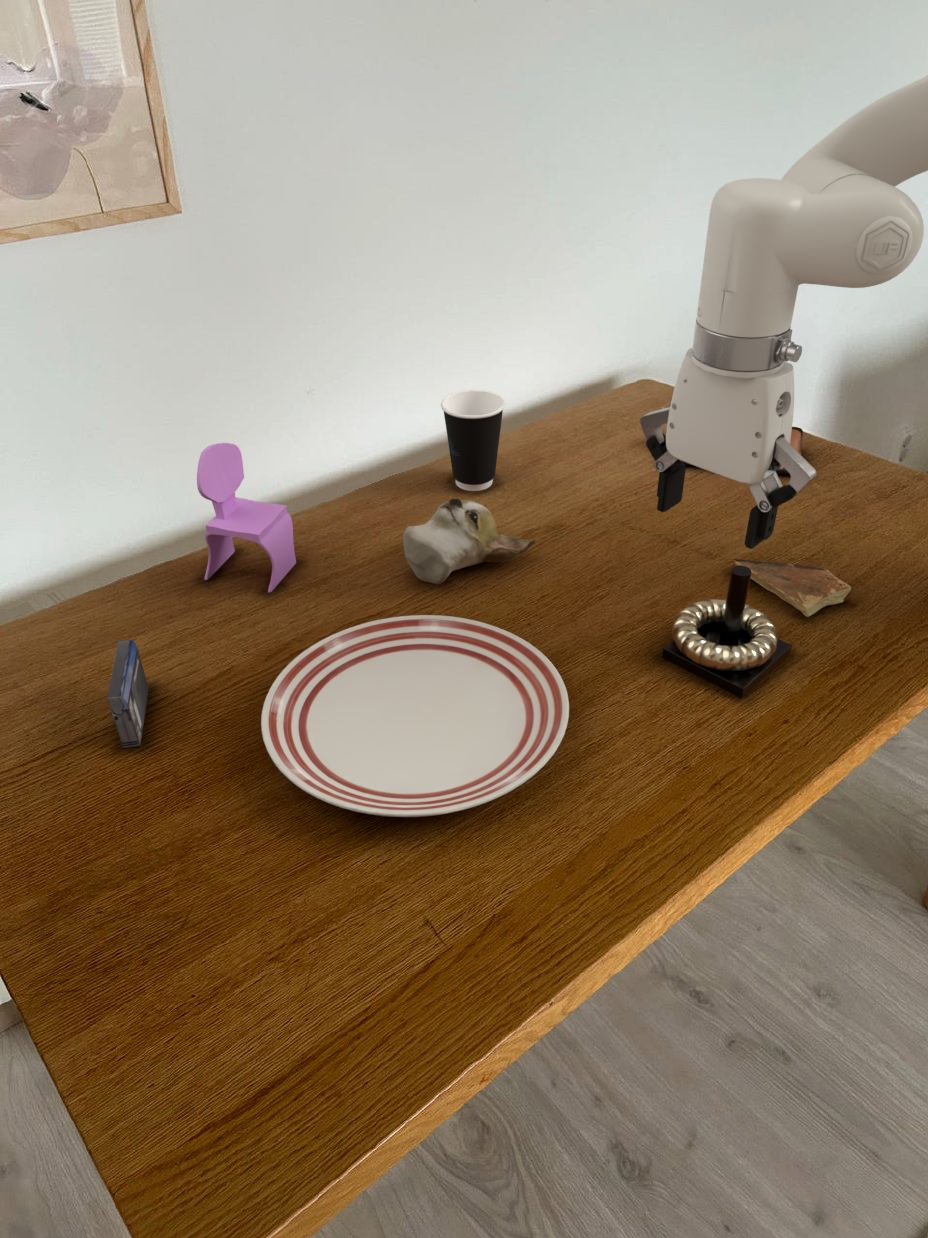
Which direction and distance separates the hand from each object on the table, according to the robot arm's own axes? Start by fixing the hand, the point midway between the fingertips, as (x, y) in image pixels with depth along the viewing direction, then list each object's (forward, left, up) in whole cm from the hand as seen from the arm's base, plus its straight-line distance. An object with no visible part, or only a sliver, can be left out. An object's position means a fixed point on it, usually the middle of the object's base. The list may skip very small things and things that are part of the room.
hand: (711, 523), depth 91 cm
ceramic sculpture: (+27, +6, -14) cm, 31 cm away
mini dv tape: (+31, +45, -14) cm, 56 cm away
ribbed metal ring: (-3, 0, -11) cm, 12 cm away
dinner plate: (+11, +28, -14) cm, 33 cm away
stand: (-4, 0, -14) cm, 14 cm away
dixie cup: (+39, -9, -14) cm, 43 cm away
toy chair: (+43, +23, -14) cm, 51 cm away
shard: (-3, -14, -14) cm, 20 cm away
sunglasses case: (+18, -37, -14) cm, 44 cm away
